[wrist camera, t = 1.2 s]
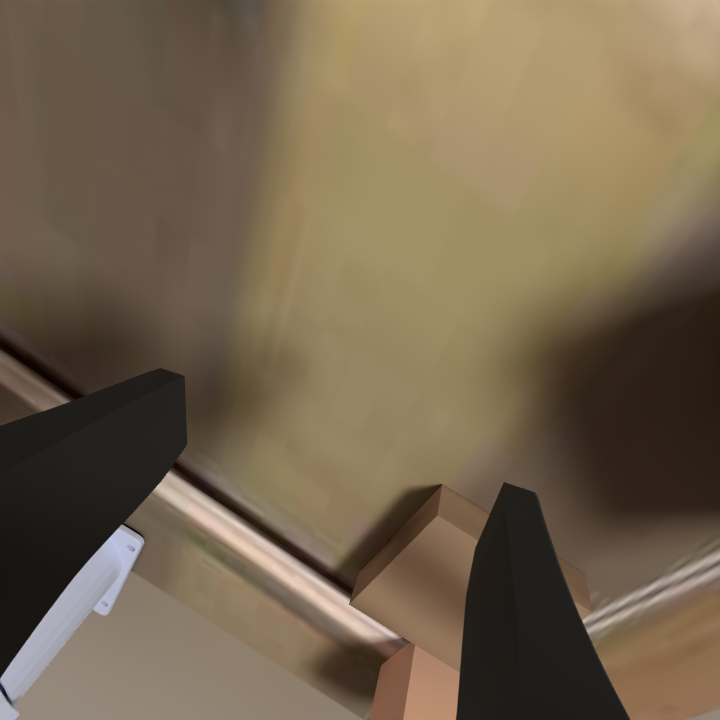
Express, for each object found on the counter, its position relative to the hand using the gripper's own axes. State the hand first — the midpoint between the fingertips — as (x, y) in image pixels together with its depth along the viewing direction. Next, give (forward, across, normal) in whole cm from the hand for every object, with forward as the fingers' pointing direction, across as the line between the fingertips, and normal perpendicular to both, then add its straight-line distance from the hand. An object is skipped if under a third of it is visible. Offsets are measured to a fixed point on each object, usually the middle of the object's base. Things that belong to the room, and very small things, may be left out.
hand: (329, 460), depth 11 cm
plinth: (+10, -6, +14) cm, 18 cm away
